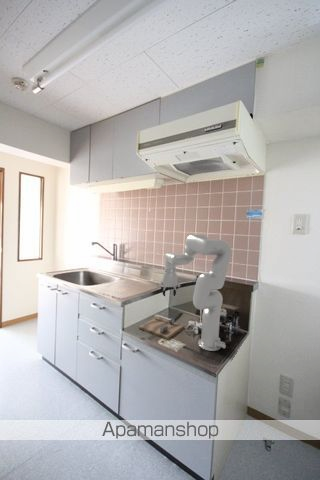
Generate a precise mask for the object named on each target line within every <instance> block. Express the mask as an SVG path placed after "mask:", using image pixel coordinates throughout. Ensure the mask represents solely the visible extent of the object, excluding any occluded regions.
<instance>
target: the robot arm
mask: <svg viewBox="0 0 320 480" xmlns="http://www.w3.org/2000/svg"><path fill="white" fill-rule="evenodd" d="M184 252H185V253H178V254H176V253H173V252H172V253H171V252H167V253H166V254H165V262H164V272H163V274H162V281H160V282H159V284H158V287H160V289H161V290H162V295H163V296H164V297H166V288H173V290H172V291H173V292H172V293H173V294H172V295H173V296H174V297H175V296H176V295H177V290H178V289H179V288H180V287H181V283H179V282H178V275H177V272H178V271H179V270H178V269H177V268H176V267H177V266H185V265H188V264H190V263H191V262H193V261H194V260H195V258H196V255H197V254H200V255H202V256H215V258H214V259H213V261H212V263H211V268H210V270H209V272H204V273H201V274H200V275H198V277H197V278H196V283H195V286H194V290H193V297H192V303H193V306H194V308H195V309H197V310H199V311H200V310H203V315H202V326H201V334H200V335H201V338H200V339H198V341H197V342H198V346H199V347H200V348H201V349H203V350H205V351H209V352H216V351H219V350H221V348H222V349H226V346H227V345H226V342H224V341H221V338H220V337H219V334H220V321H221V320H220V319H221V309H222V305H223V299H224V298H223V294H222V293H221V292H220V291H219V290H220V289H222V288H223V287H224V285H225V282H226V277H227V272H228V268H229V265H230V262H231V259H232V253H233V251H232V248H231V246H230V244H229V243H228V242H227V241H226V240H223V239H209V236H207V235H205V234H190V235H188V236H187V237H186V239H185V246H184Z"/></svg>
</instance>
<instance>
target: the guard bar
mask: <svg viewBox="0 0 320 480" xmlns="http://www.w3.org/2000/svg"><path fill="white" fill-rule="evenodd" d="M153 319H157V320H161V321H164V322H167V323H169V324H174V323H175V318H173V317H170V318H169V317H167V316H163V315H160V314H157V313H156V314H154V317H153Z"/></svg>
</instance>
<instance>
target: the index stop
mask: <svg viewBox="0 0 320 480" xmlns="http://www.w3.org/2000/svg"><path fill="white" fill-rule="evenodd" d="M167 330H168V326H167V325H164V326H162V327H161V328H160V333H165V332H166V331H167Z"/></svg>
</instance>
